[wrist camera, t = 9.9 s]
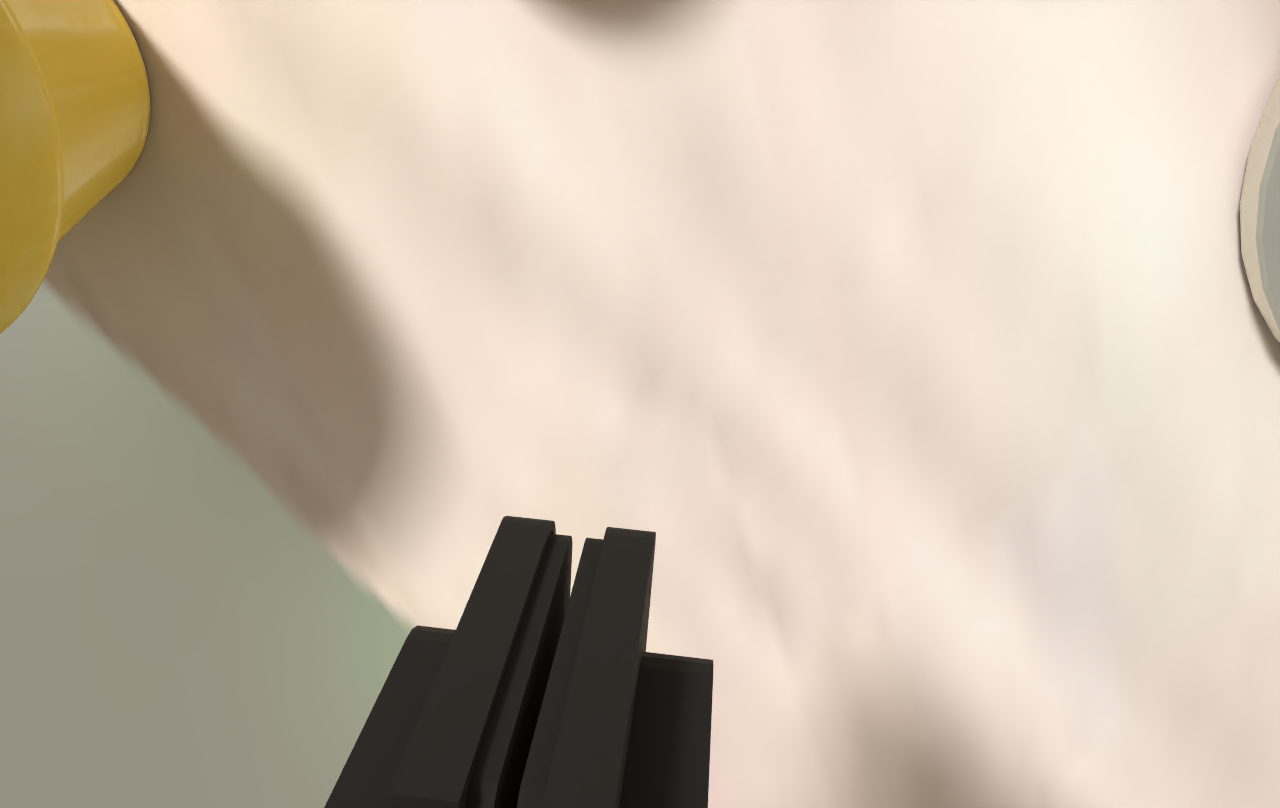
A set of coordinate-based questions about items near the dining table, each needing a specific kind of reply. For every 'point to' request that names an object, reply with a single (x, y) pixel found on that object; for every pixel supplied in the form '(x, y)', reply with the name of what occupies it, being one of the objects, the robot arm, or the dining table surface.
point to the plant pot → (61, 128)
